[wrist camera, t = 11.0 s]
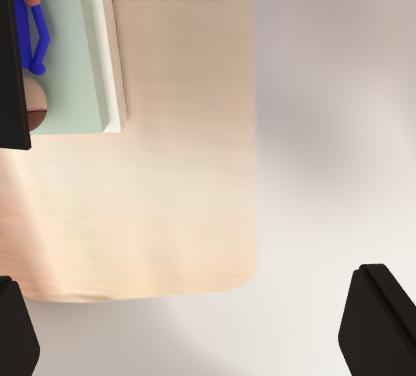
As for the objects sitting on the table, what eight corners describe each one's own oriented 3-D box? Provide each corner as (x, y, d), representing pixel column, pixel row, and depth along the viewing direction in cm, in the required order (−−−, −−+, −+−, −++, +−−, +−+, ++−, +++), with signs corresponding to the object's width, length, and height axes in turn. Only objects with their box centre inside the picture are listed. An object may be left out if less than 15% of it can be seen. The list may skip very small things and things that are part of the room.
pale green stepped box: (-59, -99, 29) (-127, -126, 23) (99, -101, 29) (74, -128, 23) (7, 123, 38) (-29, 147, 32) (127, 120, 38) (115, 142, 32)
